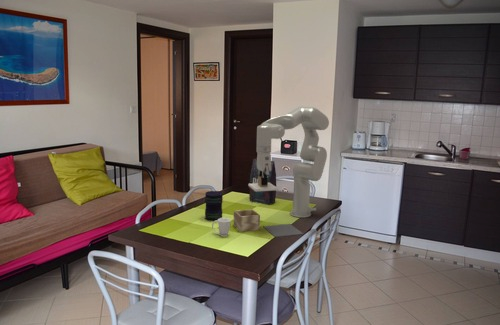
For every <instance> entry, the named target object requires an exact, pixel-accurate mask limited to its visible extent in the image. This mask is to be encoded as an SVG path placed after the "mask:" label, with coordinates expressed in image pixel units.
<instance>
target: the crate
mask: <svg viewBox="0 0 500 325" xmlns="http://www.w3.org/2000/svg"><path fill="white" fill-rule="evenodd" d="M232 223H233V226H234V227H235V228H236V229H237V230H238V231H239V232H241V233H242V232H248V231H249V232H250V231H260V229H261V226H260V225H261V215H260V214H259V213H258V212H257V211H255V210H254V209H241V210H233V222H232Z"/></svg>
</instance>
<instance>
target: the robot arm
mask: <svg viewBox="0 0 500 325" xmlns="http://www.w3.org/2000/svg"><path fill="white" fill-rule="evenodd" d="M299 125H301V126H302V129H303V133H304V139H303V142H302V145H301V149H300V153H299V154H300V155H299V156H300V159H301V160H302V161H301V162H296V163H295V164H294V165H293V167H292V176H293V194H292V195H293V197H292V198H293V199H292V210H290V212H289V215H290V216H292V217H295V218H301V219H302V218H309V217H311V216H312V212H316V211H317V208H316V207H312V206H310V193H311V184H310V181H311V182H312V181H313V182H318V181H320V179H321V178H322V176H323V172H324V168H325V165H326V161H327V157H328V153H327V152H328V151H327V150H326V148H325V147H324V146H319V145H318V144H319V140H320V138H319V137H320V136H319V133H318V132H317V131H325V130H326V129H328V128H329V125H330V121H329V118H328V116H327V115H326V114H325V113H323V112H322V111H321V110H320V109H318V108H316V107H312V106H298V107H297V108H295V109H293V110H292V111H290V112H288V113H287V114H283V115H279V116H276V117H272V118H269V119H268V120H265V121H263V122H262V123H261V124H260V125H257V127H256V153H257V156H256V159H257V169H258V171H259V173H258V175H259V176H262V183H261V184H262V185H267V184H268V174H269V172H270V171H271V161H272V154H271V153H272V140H273V139H275V140H279V139H281V138H283V137H284V136H285V133H286V130H292V129H294V128H296V127H297V126H299ZM304 161H306V162H304ZM309 162H310V163H309ZM264 170H266V171H264Z"/></svg>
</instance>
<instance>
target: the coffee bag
mask: <svg viewBox="0 0 500 325" xmlns="http://www.w3.org/2000/svg"><path fill="white" fill-rule="evenodd" d="M264 171H266V170H264ZM258 173H259V171H258V169H257V158H253V159H252V165H251V169H250V176H249V184H253V183H258V176H259V175H258ZM268 183H271V184H272V185H274V186H276V187H277V173H276V165H275V161H274V160H271V171H270V172H269V174H268ZM248 190H249V192H248V193H249V194H248V195H249V201H250V202H252V203H257V204H263V205H268V206H270V205H273V204H275V203H276V196H277V190H272V191H257V192H255V191H254V190H253V189H252V188H250V187H249V186H248Z"/></svg>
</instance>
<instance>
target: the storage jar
mask: <svg viewBox="0 0 500 325" xmlns="http://www.w3.org/2000/svg"><path fill="white" fill-rule="evenodd" d="M204 199H205V201H204V202H205V210H204V216H205V218H204V219H205V220H206V221H209V222H214V221H216V220H218V219H220V218H223V199H224V198H223V192H222V191H218V190H217V191H216V190H211V191H210V190H208V191H206V192H205V196H204Z"/></svg>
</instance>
